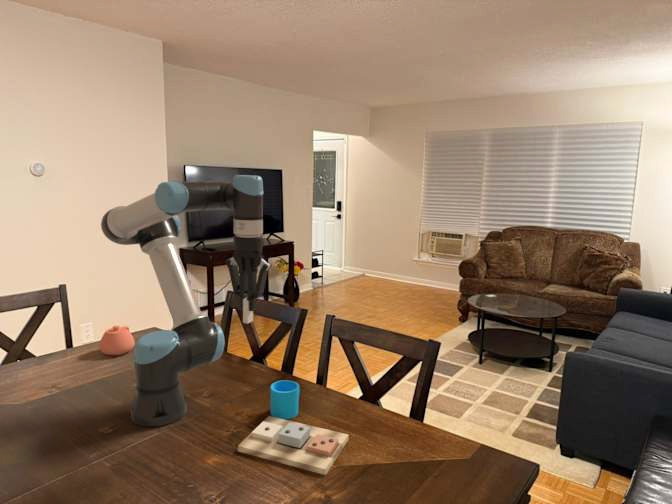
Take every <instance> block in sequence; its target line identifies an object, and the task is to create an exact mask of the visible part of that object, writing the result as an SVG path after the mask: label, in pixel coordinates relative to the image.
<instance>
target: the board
mask: <svg viewBox="0 0 672 504" xmlns="http://www.w3.org/2000/svg"><path fill="white" fill-rule="evenodd" d="M263 421H264V422H268V423H273V424H277V425H281V426H283V429H284V428H285V427H286V426H287V425H288V423H289V422H290V423H294V424H298V425H303V426H307V427H310V437H309V438H308V439H307V440H306V442H305V443H304V444H303V445H302V447H301V448H296V447H292V446H288V445H284V444H281V443H279V436H278V437H277V438H276V439H275V440H274V441H273V443H272V442H268V441H264V440H260V439H256V438H252V432H250V433H249V435H248V436H246V437H245V438H244V439H243V440H242V441H241V442H240V443H239V444H238V445H237V452H239V453H243V454H247V455H251V456H253V457H257V458H260V459H264V460H268V461H272V462H276V463H279V464H283V465H287V466H290V467H295V468H297V469H298V468H299V469H301V470H304V471H309V472H313V473H317V474H319V475H324V476H326V475H327V474H328V472H329V470H330V469H331V467H332V466H333V464H334V463H335V461H336V460H337V459H338V456H339V455H340V454H341V452H342V451H343V449H344V448H345V446H346V444H347V442H348V441H349V435H350V434H347V433H343V432H339V431H336V430H331V429H327V428H322V427H318V426H314V425H310V424H305V423H302V422H301V423H300V422H297V421H292V420H290V419H280V418H276V417H273V416H272V415H268V416H267V417H266V418H265V419H264V420H263ZM317 434H319V435H323V436H327V437H331V438H335V439H338V447H337V448H336V450H335V451H334V453H333V454H332V456H331V457H326V456H322V455H319V454H315V453H311V452H307V446H308V445H309V444H310V442H311V441H312V440H313V439H314V437H315V436H316V435H317Z"/></svg>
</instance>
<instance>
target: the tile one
mask: <svg viewBox="0 0 672 504" xmlns="http://www.w3.org/2000/svg"><path fill="white" fill-rule="evenodd" d="M282 430H283V426H281V425H277V424H273V423H268V422H264V420H263V421H262V422H261V423H260V424H259V425H258V426H256V427H255V428H254V430H252V431H251V433H252V438H256V439H260V440H264V441H268V442H272V443H273V441H274V440H275V439H276V438H277V437H278V436H279V433H280V432H281V431H282Z"/></svg>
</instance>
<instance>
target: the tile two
mask: <svg viewBox="0 0 672 504" xmlns="http://www.w3.org/2000/svg"><path fill="white" fill-rule="evenodd" d="M309 437H310V427H307V426H303V425H298V424H294V423H290V422H289V423H288V425H287V426H286V427H285V428H284V429H283V430H282V431H281V432H280V433H279V443H281V445H284V446H288V447H292V448H296V449H302V447H303V446H304V445H305V444H306V443H307V439H308V438H309Z"/></svg>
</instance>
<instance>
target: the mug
mask: <svg viewBox="0 0 672 504" xmlns="http://www.w3.org/2000/svg"><path fill="white" fill-rule="evenodd" d="M269 391H270V392H269V393H270V395H269V396H270V416H272V417H276V418H280V419H284V420H290V419H293V418H296V416H297V415H298V414H299V397H300V393H301V386H300V385H299V383H298V382H296V381H293V380H288V379H287V380H285V379H284V380H278V381H275V382H273V383H272V384H271V385H270V390H269Z"/></svg>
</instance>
